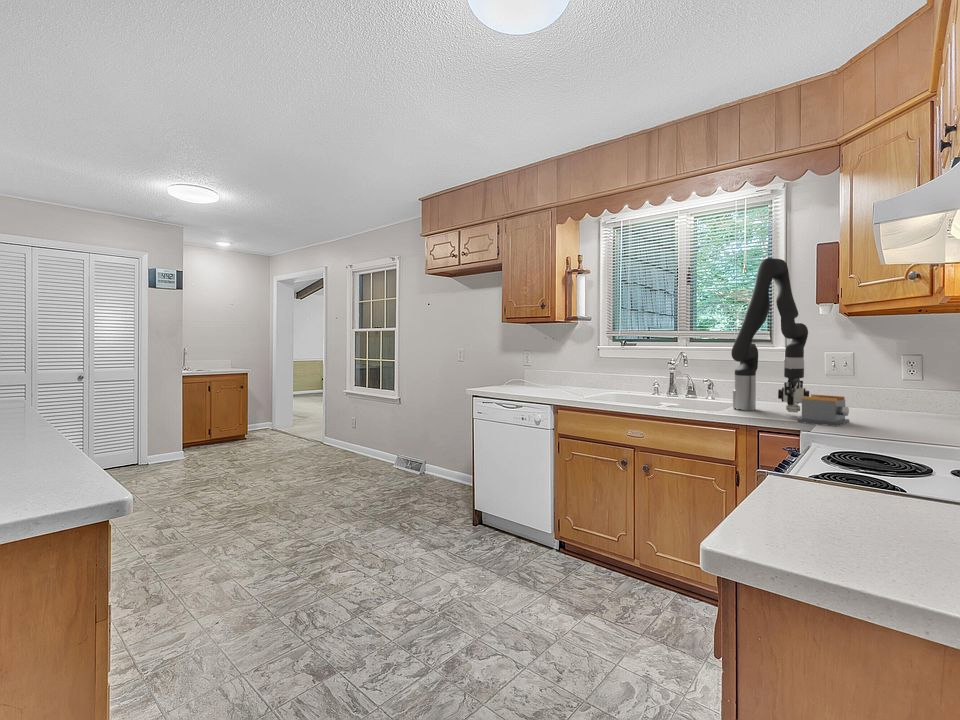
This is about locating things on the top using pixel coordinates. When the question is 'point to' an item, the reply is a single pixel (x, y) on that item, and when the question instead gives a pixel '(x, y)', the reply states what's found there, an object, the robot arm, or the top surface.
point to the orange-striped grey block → (824, 410)
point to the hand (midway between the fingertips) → (793, 403)
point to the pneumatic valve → (797, 398)
